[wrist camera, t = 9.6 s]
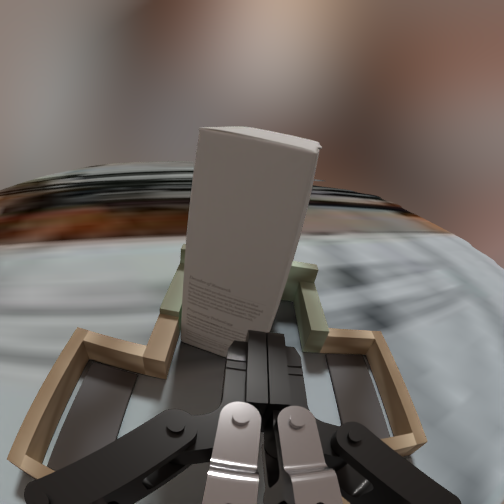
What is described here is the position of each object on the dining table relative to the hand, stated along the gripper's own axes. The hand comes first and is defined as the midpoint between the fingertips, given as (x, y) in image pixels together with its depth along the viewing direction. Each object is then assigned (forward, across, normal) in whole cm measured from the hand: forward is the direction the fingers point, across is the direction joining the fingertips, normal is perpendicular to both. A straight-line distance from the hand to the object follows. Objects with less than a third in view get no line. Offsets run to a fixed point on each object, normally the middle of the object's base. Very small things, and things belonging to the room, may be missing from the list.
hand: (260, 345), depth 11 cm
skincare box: (+9, +1, +8) cm, 12 cm away
